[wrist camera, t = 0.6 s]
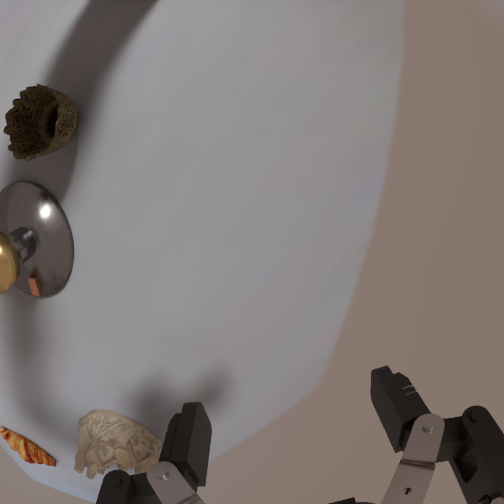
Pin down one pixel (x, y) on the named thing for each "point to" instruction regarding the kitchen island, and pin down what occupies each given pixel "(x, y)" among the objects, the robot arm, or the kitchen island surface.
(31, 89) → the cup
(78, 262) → the kitchen island surface
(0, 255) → the gold lever handle
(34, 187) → the post base
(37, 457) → the croissant
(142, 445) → the ceramic cottage
